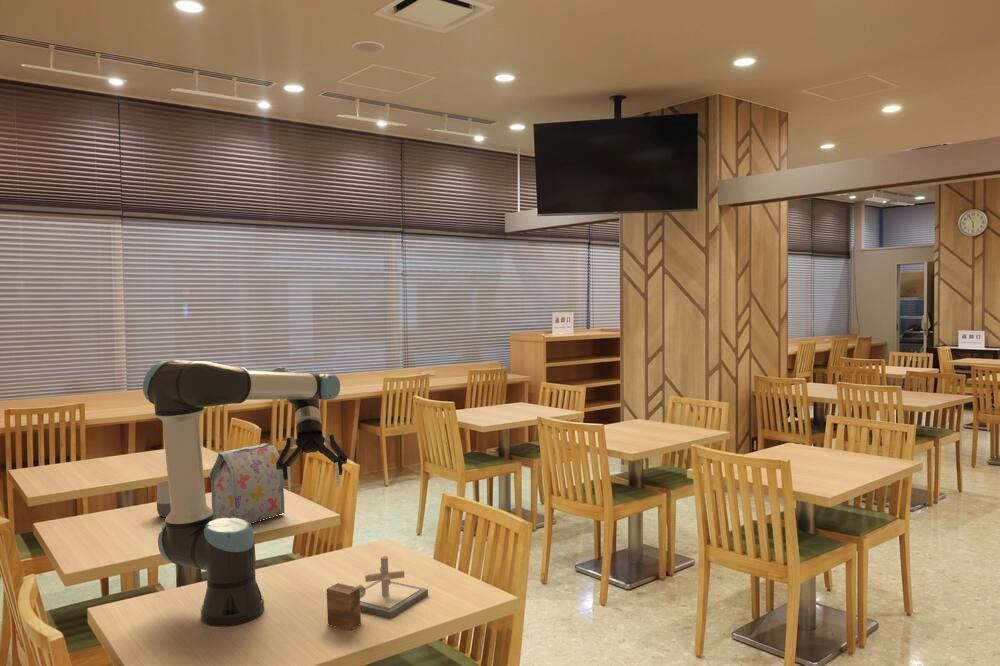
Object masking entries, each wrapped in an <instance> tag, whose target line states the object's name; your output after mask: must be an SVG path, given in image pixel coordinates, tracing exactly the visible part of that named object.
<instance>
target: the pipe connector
mask: <svg viewBox="0 0 1000 666" xmlns="http://www.w3.org/2000/svg"><path fill="white" fill-rule="evenodd" d="M379 571H380V572H379V573H370V574H365V575H364V576H365V577H364V578H365V581H364V582H365V583H369V582H370V583H371V582H376V581H379V580H382V596H388V595H389V585H390V584H391V582H392V581H391V580H393V579H394V580H395V579H403V578H405V570H396V571H389V557H388V556H387V555H384V556H381V557H380V567H379Z"/></svg>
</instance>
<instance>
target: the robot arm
mask: <svg viewBox="0 0 1000 666" xmlns="http://www.w3.org/2000/svg"><path fill="white" fill-rule="evenodd" d="M142 392H143V396H144V397H145V399H146V400H148V402H149V403H150V404H152V405H153V407H154V415H155V417H157V418H158V419H159V420H160V421H162V422H161V423H162V429H163V431H162V432H163V440H164V451H165V462H166V471H167V472H166V473H167V481H168V485H169V495H170V506H171V512H170V513H169V514H168V516H167V517H166V518H165V523H164V524H162V525H163V526H162V527H161V531H160V532H158V536H157V547H158V551H159V553H160V554H161V556H162V557H163V558H164V560H166V561H168V563H171V564H175V565H177V566H179V567H188V568H193V569H197V570H203V571H206V586H207V587H206V592H205V594H204V599H203V604H202V606H201V609H200V619H201V622H202V623H204V624H206V625H209V626H214V627H217V626H218V627H227V626H228V627H229V626H235V625H239V624H240V625H241V624H244V623H246V622H251V621H252V620H254V619H256V618H258V617H259V616H261V615H262V614H263V612H264V610H265V601H264V598H263V595H262V592H261V590H260V587H259V585H258V583H257V578H256V553H255V552H256V551H255V550H256V549H255V548H256V547H255V546H256V545H255V544H256V543H255V542H256V541H255V539H256V538H255V535H254V529H253V528H254V527H253V526H252V524H250V523H249V522H247V521H245V520H242V519H239V518H219V519H215V520H214V516H213V510H212V507H209V506H208V505H207V497H206V486H205V475H204V465H203V455H202V441H201V433H200V422H199V421H200V420H199V417H200V415H201V414H202V413H203V412H204V411H205V408H207V407H209V408H210V407H215V406H217V407H218V406H223V405H238V404H243V403H244V402H246V401H247V400H249V401H250V400H251V401H252V400H254V401H255V400H256V401H257V400H260V401H262V400H286V401H287V402H288V403H290V404H291V405H293V407H294V418H295V429H296V431H295V432H296V438H295V439H292V438H290V437H287V438H286V444H285V445H284V448H283V450H282V451H281V454H279V456H280V457H279V459H278V461H277V463H276V469H277V470H279V469H281V470H283V481H287V489H288V492H291V491H292V477H291V466H292V465H293V464H294V463H295V462H296V460H297V459H298V458H299V457H300V456H301V455H302V454H303V453H305V454H310V453H312V454H313V453H317V452H319V453H320V454H322V455H324V456H325V457H326V458H327V459H329V461H331V462H332V463H333V464H334V474H335V483H336V487H338V488H339V487H340V484H341V477H340V476H342V475H343V465H346V464H347V462H348V456H347V455H346V454H345V452H344V451H343V449H341V447H340V446H339V444H338V443H337V442H336V440H335V437H334V435H333V434H330V435H329V436H326V437H325V436H324V435H323V429H322V427H323V425H322V418H321V410H320V409H321V408H320V400H322V401H323V400H324V401H328V400H329V401H330V400H334V399H336V398H337V397H338V396H339V394H340V392H341V381H340V379H339V377H338V376H337V375H336V374H334V373H333V374H331V373H313V372H311V373H310V372H292V371H290V369H289V368H286V367H284V366H278V367H275V368H274V369H273V370H270V371H266V370H264V371H262V370H261V371H259V370H248V369H246V368H245V367H243V366H240V365H239V366H236V365H228V364H221V363H218V362H217V363H216V362H212V361H207V360H186V359H185V360H183V359H170V360H169V359H168V360H162V361H158V362H157V363H154V365H152V366H151V367H150V369H149V370H148V371H147V372H146V374H145V376H144V377H143V382H142ZM324 443H327V444H328V445H329V446H330V448H331V450H330V449H329V448H328V447H327V446H326V445H325V444H324ZM294 445H296V449H295V450H294V451H293V452H292V453H291V454H290V456H289V457H288V458H287V456H288V454H289V453H290V450H291V448H293V447H294ZM286 458H287V459H286Z"/></svg>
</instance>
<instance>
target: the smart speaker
mask: <svg viewBox="0 0 1000 666" xmlns="http://www.w3.org/2000/svg"><path fill="white" fill-rule="evenodd" d="M156 511H157V514H158V516H159V517H161V516H162V517H161V518H164V517H167V516H168V514H169V513H170V512H171V506H170V495H169V485H168V480H165V481H161V482H158V483H157V486H156Z"/></svg>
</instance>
